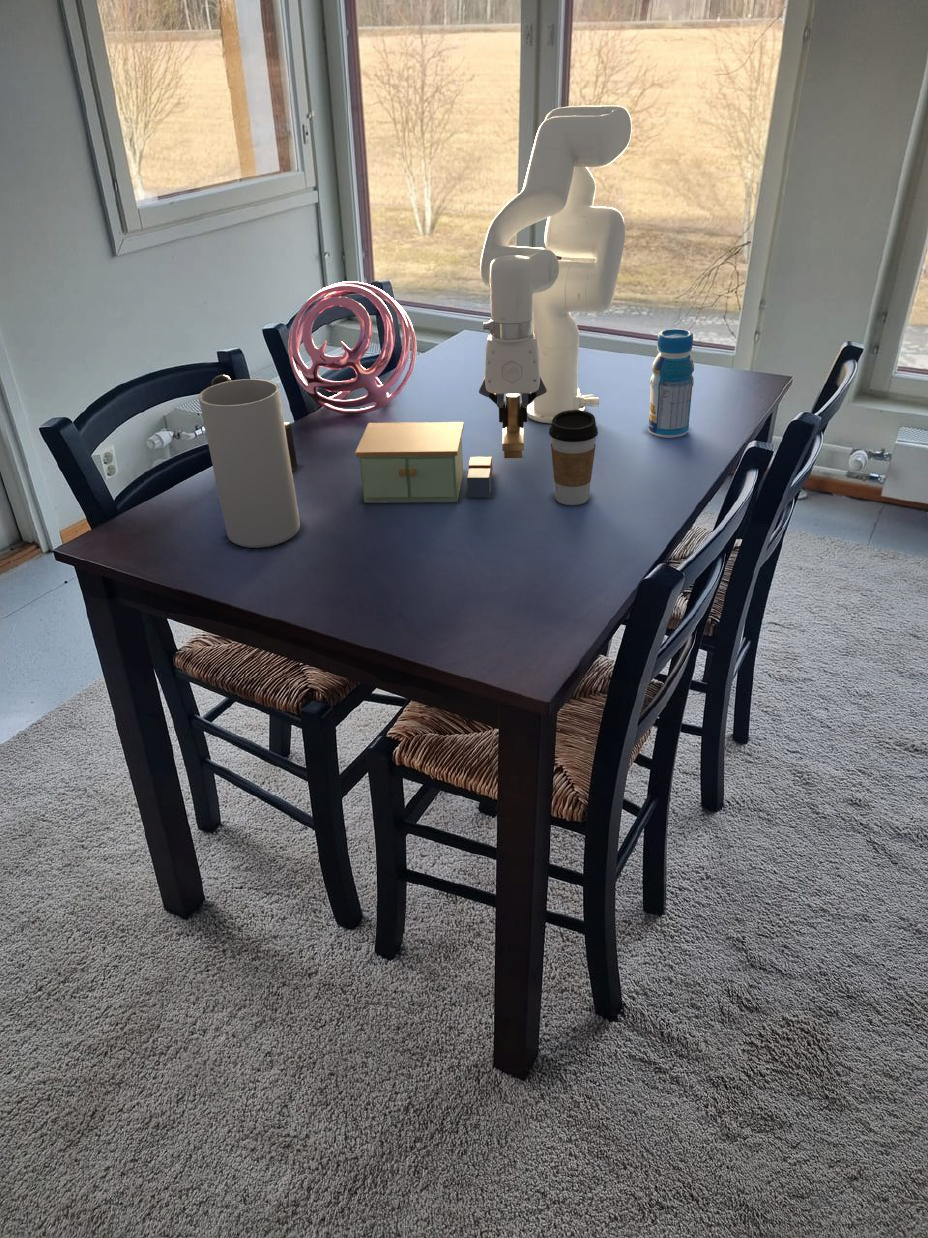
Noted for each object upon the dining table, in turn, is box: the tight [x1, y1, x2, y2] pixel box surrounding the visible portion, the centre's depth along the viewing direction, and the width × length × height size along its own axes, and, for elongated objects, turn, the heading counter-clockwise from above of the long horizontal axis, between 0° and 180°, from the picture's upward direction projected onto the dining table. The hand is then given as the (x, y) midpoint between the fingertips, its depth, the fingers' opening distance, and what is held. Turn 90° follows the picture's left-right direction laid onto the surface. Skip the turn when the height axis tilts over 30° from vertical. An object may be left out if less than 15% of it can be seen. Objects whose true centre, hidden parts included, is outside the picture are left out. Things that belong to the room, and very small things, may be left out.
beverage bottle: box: [647, 328, 695, 439], centre depth 186 cm, size 8×8×20 cm
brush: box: [501, 393, 525, 459], centre depth 178 cm, size 4×13×10 cm, turn 177°
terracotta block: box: [468, 456, 493, 482], centre depth 174 cm, size 4×4×4 cm
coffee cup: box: [548, 410, 599, 506], centre depth 163 cm, size 8×8×15 cm
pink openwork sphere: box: [287, 281, 418, 415], centre depth 205 cm, size 28×28×27 cm
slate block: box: [466, 467, 493, 499], centre depth 169 cm, size 4×4×4 cm
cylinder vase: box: [198, 378, 301, 549], centre depth 154 cm, size 12×12×25 cm
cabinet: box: [354, 421, 465, 504], centre depth 171 cm, size 18×15×10 cm
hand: (513, 424), depth 179 cm, fingers closed on brush, 2 cm apart
